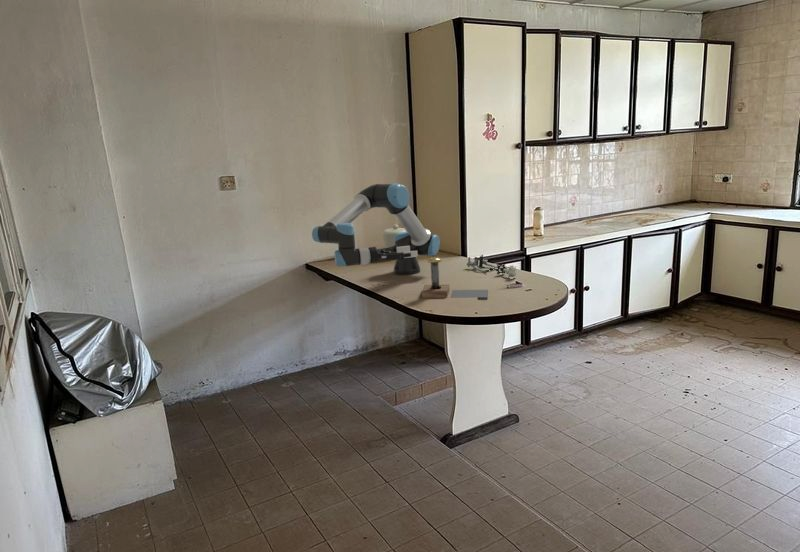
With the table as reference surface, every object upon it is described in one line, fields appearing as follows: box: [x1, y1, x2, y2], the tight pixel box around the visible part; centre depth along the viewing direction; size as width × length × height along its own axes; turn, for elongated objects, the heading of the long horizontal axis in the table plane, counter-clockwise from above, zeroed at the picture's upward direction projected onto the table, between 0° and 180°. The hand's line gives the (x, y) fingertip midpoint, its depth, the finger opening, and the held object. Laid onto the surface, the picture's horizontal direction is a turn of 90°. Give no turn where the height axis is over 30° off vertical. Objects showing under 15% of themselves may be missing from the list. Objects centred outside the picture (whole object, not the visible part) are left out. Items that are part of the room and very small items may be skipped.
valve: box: [495, 262, 517, 278], centre depth 294 cm, size 7×7×12 cm
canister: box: [381, 224, 406, 248], centre depth 360 cm, size 18×18×21 cm
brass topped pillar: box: [427, 256, 442, 289], centre depth 266 cm, size 6×6×17 cm
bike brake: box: [466, 254, 498, 274], centre depth 313 cm, size 14×7×20 cm
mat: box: [450, 289, 489, 300], centre depth 265 cm, size 13×17×1 cm
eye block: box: [421, 283, 450, 299], centre depth 268 cm, size 12×12×4 cm
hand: (413, 251), depth 261 cm, fingers open, 13 cm apart
